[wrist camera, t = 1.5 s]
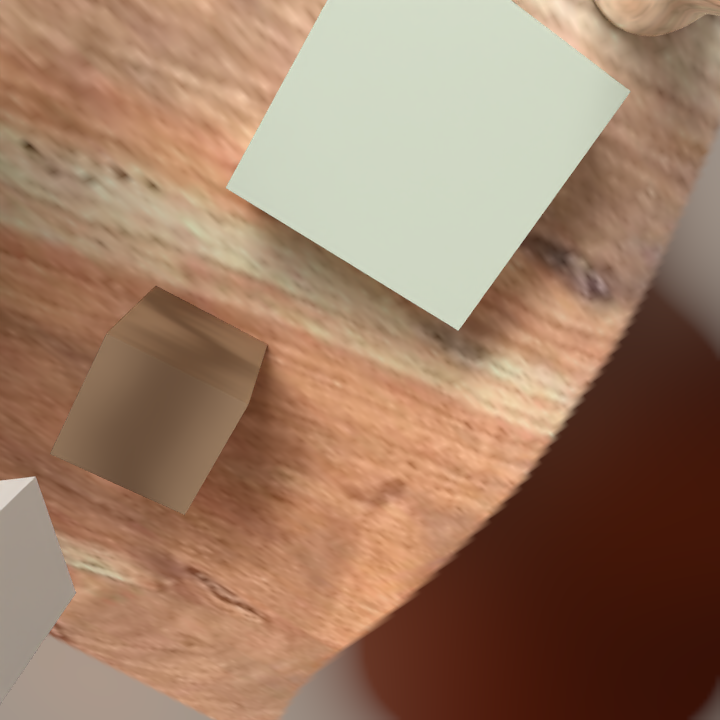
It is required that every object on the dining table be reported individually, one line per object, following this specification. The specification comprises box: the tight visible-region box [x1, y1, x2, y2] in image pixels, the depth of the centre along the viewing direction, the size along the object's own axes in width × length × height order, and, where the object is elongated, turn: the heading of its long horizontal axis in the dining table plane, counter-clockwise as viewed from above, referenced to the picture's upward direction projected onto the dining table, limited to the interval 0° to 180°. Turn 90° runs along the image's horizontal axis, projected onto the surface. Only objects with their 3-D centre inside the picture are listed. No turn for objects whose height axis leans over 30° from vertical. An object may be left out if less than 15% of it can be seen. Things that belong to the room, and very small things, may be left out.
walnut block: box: [50, 286, 268, 515], centre depth 30 cm, size 6×6×7 cm
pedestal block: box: [226, 0, 631, 331], centre depth 27 cm, size 11×11×5 cm
